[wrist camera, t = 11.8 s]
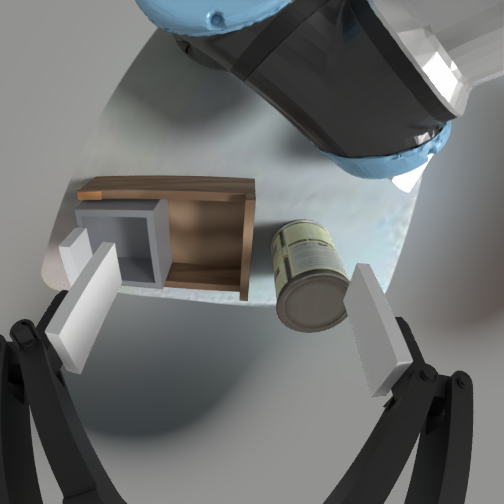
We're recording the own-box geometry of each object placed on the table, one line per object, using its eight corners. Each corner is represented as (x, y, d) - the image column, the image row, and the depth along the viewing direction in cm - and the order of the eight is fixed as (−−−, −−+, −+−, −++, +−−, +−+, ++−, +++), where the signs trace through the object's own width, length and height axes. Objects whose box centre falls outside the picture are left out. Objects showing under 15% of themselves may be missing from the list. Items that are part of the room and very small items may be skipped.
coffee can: (335, 264, 50) (357, 323, 38) (277, 277, 51) (285, 339, 40) (327, 212, 45) (353, 265, 33) (263, 227, 46) (267, 285, 34)
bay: (96, 176, 41) (71, 196, 34) (254, 178, 42) (255, 200, 35) (110, 260, 49) (94, 288, 43) (247, 269, 50) (247, 300, 44)
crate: (92, 190, 40) (52, 227, 30) (166, 190, 41) (140, 230, 31) (105, 257, 47) (77, 303, 37) (172, 261, 48) (154, 312, 38)
